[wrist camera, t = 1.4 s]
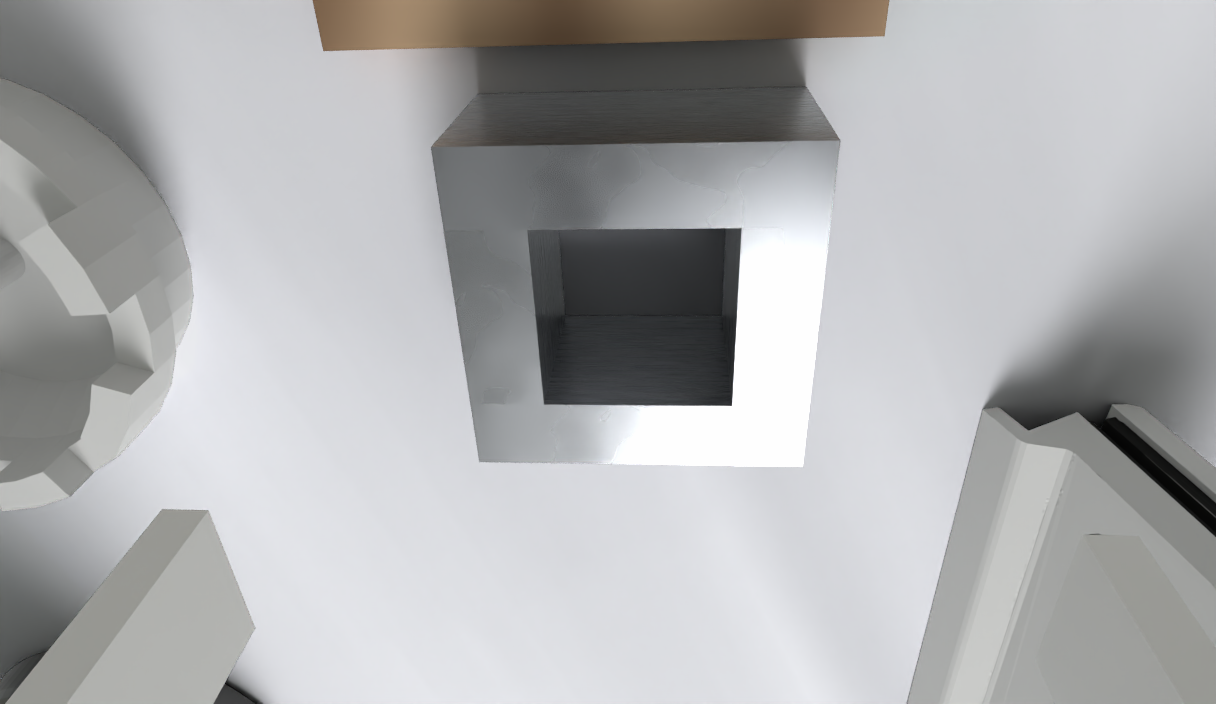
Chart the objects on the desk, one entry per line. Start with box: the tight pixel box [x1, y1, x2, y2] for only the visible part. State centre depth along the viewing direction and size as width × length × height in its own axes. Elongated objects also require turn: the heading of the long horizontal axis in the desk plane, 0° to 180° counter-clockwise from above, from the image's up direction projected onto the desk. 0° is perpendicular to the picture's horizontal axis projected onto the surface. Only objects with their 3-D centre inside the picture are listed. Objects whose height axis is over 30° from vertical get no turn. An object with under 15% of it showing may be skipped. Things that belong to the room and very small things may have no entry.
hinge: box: [907, 404, 1216, 704], centre depth 27 cm, size 17×5×10 cm, turn 2°
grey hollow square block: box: [431, 87, 840, 467], centre depth 22 cm, size 9×9×5 cm
